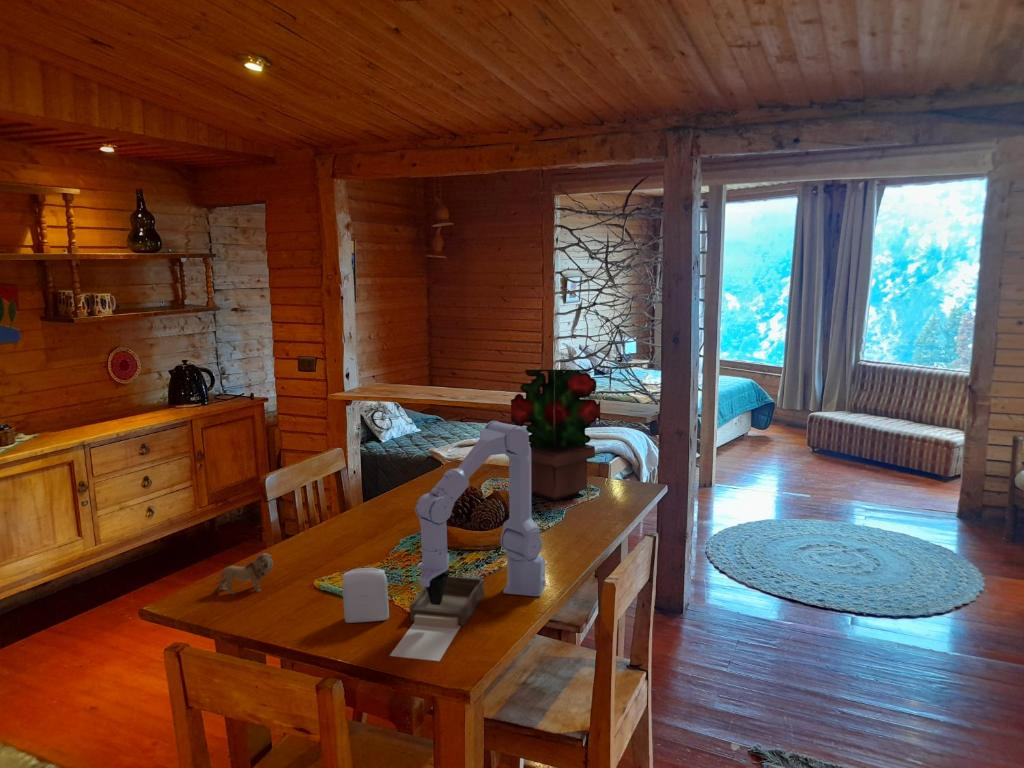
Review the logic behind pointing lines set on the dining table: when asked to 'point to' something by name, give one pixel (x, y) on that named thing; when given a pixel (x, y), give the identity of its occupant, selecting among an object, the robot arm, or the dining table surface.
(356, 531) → the dining table surface
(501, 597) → the dining table surface
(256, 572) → the lion figurine
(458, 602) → the walnut box
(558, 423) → the potted plant
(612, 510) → the dining table surface
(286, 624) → the dining table surface
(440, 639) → the cover plate
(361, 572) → the photo printer
